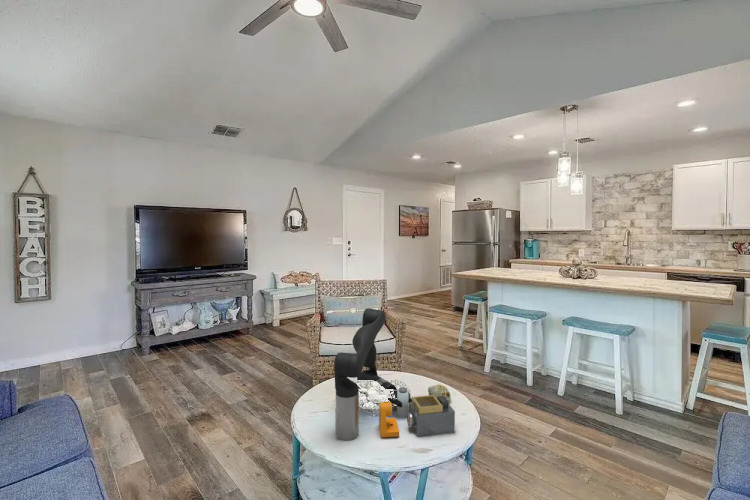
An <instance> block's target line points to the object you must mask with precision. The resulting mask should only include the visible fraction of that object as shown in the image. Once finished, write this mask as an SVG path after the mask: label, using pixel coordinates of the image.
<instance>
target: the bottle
mask: <svg viewBox="0 0 750 500" xmlns="http://www.w3.org/2000/svg"><path fill="white" fill-rule="evenodd" d="M397 390H398V391H397V399H398V400H399V401H400V402H402V407H397V408H396V415H397V417H398V418H400V419H407V413H409V393H410V391H409V390H408V388H406V387H403V386H402V387H399V388H398V389H397Z"/></svg>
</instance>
